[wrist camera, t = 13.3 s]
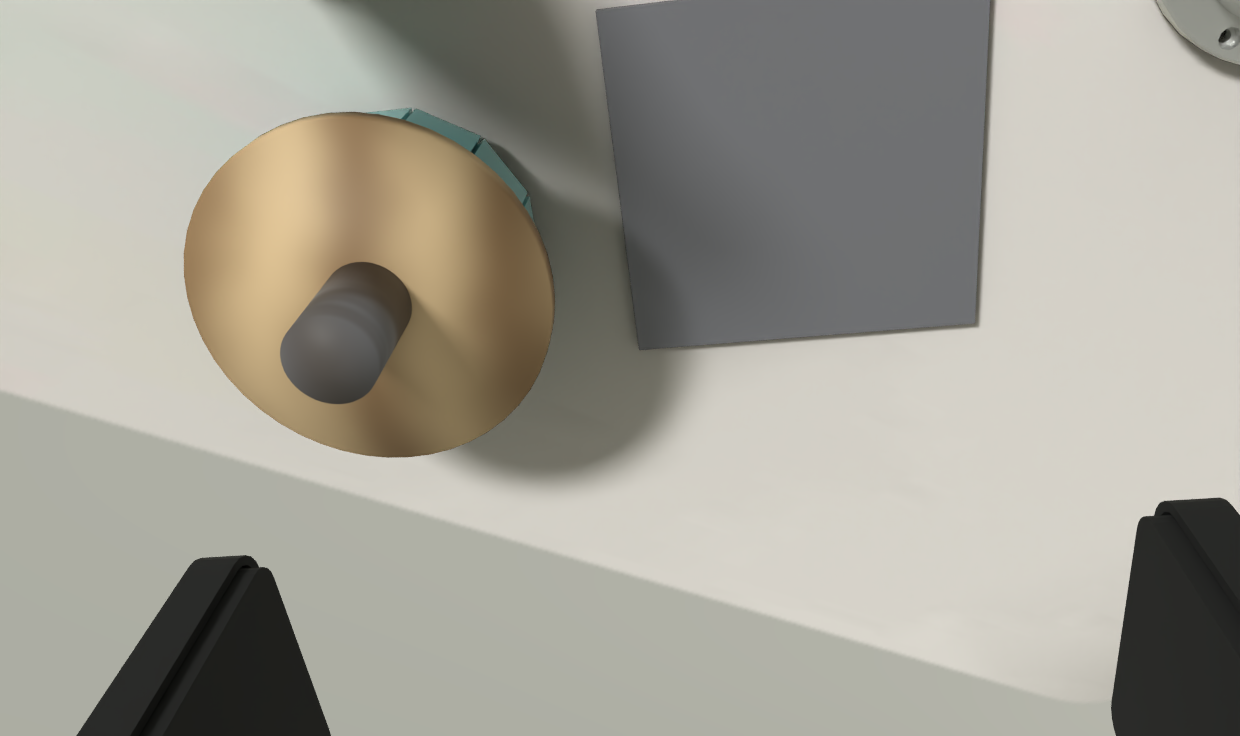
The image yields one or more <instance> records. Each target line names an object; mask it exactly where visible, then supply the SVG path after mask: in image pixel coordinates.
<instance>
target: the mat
mask: <svg viewBox="0 0 1240 736" xmlns="http://www.w3.org/2000/svg"><path fill="white" fill-rule="evenodd" d="M989 15H990V0H673V1H664V2H656V3H647V4H639V5H630V6H622V7H614V8H605V9H597V10H596V17H597V25H598V33H599V40H600V48H601V56H602V64H603V72H604V80H605V87H606V95H607V103H608V111H609V119H610V126H611V134H612V142H613V150H614V158H615V165H616V173H617V181H618V189H619V197H620V204H621V212H622V220H623V228H624V236H625V243H626V251H627V259H628V267H629V275H630V282H631V290H632V298H633V306H634V314H635V321H636V329H637V337H638V345H639V350H647V349H659V348H672V347H684V346H697V345H709V344H722V343H735V342H747V341H760V340H772V339H785V338H798V337H810V336H823V335H835V334H848V333H860V332H873V331H886V330H898V329H911V328H923V327H936V326H948V325H961V324H974V323H975V312H976V290H977V269H978V248H979V227H980V206H981V184H982V163H983V142H984V121H985V100H986V78H987V57H988V36H989Z"/></svg>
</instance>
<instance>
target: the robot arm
mask: <svg viewBox="0 0 1240 736" xmlns="http://www.w3.org/2000/svg"><path fill="white" fill-rule="evenodd" d="M1156 1H1157V3H1158V5H1159V7H1160V9H1161V11H1162V13H1163V14H1164V16H1165V17H1166V18H1167V19H1168V20H1169V22H1170V23H1171V24H1172V25H1173V26H1174V28H1175V29H1176V30H1177V31H1178V32H1179V34H1181V35H1182V36H1183V37H1185V38H1186V39H1188V40H1189V41H1190V42H1192V43H1193V44H1194V45H1196V46H1197V47H1198V48H1200V49H1201V50H1203V51H1205V52H1207V53H1209V54H1211V55H1213V56H1215V57H1217V58H1220V59H1222V60H1225V61H1228V62H1232V63H1235V64H1238V65H1240V0H1156ZM1224 30H1226V34H1225V37H1224V38H1223V39H1221V40H1219V37H1220V35H1221V33H1222V32H1223V31H1224ZM1111 706H1112V707H1111V711H1112V720H1113V726H1114V730H1115V733H1116V736H1240V515H1239V514H1238V512H1237V511H1236V510H1235V509H1234V507H1233V506H1232V505H1231V504H1230V503H1229V502H1228V501H1227V500H1225V499H1222V498H1208V499H1191V500H1174V501H1164V502H1161V503H1160V504H1159V505H1158V507H1157V508H1156V511H1155V515H1154V516H1145V517H1142V518H1141V519H1140V521H1139V523H1138V527H1137V532H1136V539H1135V546H1134V553H1133V559H1132V566H1131V573H1130V580H1129V587H1128V594H1127V600H1126V607H1125V614H1124V621H1123V628H1122V634H1121V641H1120V648H1119V655H1118V662H1117V669H1116V675H1115V682H1114V689H1113V696H1112V705H1111ZM77 736H331V735H330V731H329V728H328V725H327V723H326V720H325V717H324V714H323V712H322V709H321V706H320V703H319V700H318V698H317V695H316V692H315V690H314V687H313V684H312V681H311V678H310V676H309V673H308V671H307V668H306V665H305V662H304V659H303V656H302V654H301V651H300V648H299V645H298V643H297V640H296V637H295V634H294V632H293V629H292V626H291V624H290V620H289V618H288V615H287V613H286V609H285V607H284V604H283V601H282V598H281V596H280V593H279V590H278V588H277V585H276V582H275V579H274V577H273V575H272V573H271V571H270V570H269V569H268V568H265V567H260V568H259V566H258V564H257V562H256V561H255V560H254V559H253V558H252V557H251V556H246V555H243V556H226V557H209V558H200V559H197V560H195V561H194V562H193V563H192V564H191V565H190V566H189V568H188V569H187V571H186V572H185V574H184V575H183V577H182V578H181V580H180V581H179V583H178V584H177V586H176V587H175V589H174V590H173V592H172V593H171V595H170V596H169V598H168V599H167V601H166V602H165V604H164V605H163V607H162V608H161V610H160V611H159V613H158V614H157V616H156V617H155V619H154V620H153V622H152V623H151V625H150V626H149V628H148V629H147V631H146V632H145V634H144V635H143V637H142V638H141V640H140V641H139V643H138V644H137V646H136V647H135V649H134V650H133V652H132V653H131V655H130V656H129V658H128V659H127V661H126V662H125V664H124V665H123V667H122V668H121V670H120V671H119V673H118V674H117V676H116V677H115V679H114V680H113V682H112V683H111V685H110V686H109V688H108V689H107V691H106V692H105V694H104V695H103V697H102V698H101V700H100V701H99V703H98V704H97V706H96V707H95V709H94V710H93V712H92V713H91V715H90V716H89V718H88V719H87V721H86V723H85V724H84V725H83V727H82V728H81V730H80V731H79V733H78V734H77Z"/></svg>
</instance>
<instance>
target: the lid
mask: <svg viewBox="0 0 1240 736" xmlns="http://www.w3.org/2000/svg"><path fill="white" fill-rule="evenodd" d="M184 278H185V285H186V292H187V298H188V301H189V305H190V308H191V312H192V315H193V318H194V321H195V323H196V326H197V328H198V330H199V333H200V335H201V337H202V339H203V341H204V343H205V345H206V346H207V348H208V350H209V352H210V353H211V355H212V357H213V359H214V360H215V361H216V363H217V364H218V365H219V367H220V368H221V369H222V371H223V372H224V373H225V375H226V376H227V378H228V379H229V380H230V381H231V382H232V383H233V384H234V385H235V386H236V387H237V388H238V389H239V390H240V392H241V393H242V394H243V395H244V396H245V397H247V398H248V399H249V400H250V401H251V402H252V403H253V404H255V405H256V406H257V407H258V408H259V409H260V410H262V411H263V412H265V413H266V414H267V415H269V416H270V417H272V418H273V419H274V420H276V421H277V422H279V423H280V424H282V425H284V426H286V427H287V428H289V429H291V430H293V431H294V432H296V433H298V434H300V435H302V436H304V437H307V438H309V439H311V440H313V441H316V442H318V443H320V444H323V445H326V446H330V447H333V448H336V449H339V450H342V451H347V452H351V453H356V454H361V455H367V456H377V457H414V456H421V455H429V454H434V453H438V452H442V451H445V450H449V449H452V448H455V447H457V446H460V445H463V444H465V443H468V442H470V441H472V440H474V439H476V438H477V437H479V436H481V435H483V434H485V433H487V432H488V431H490V430H491V429H492V428H494V427H495V426H496V425H498V424H499V423H500V422H502V421H503V420H504V419H505V418H506V417H507V416H508V415H509V414H510V413H511V412H512V411H513V410H514V409H515V408H516V407H517V406H518V405H519V404H520V403H521V401H522V400H523V399H524V397H525V396H526V395H527V393H528V392H529V391H530V389H531V387H532V385H533V384H534V382H535V380H536V378H537V376H538V374H539V372H540V370H541V367H542V365H543V362H544V359H545V356H546V353H547V350H548V346H549V343H550V338H551V333H552V328H553V323H554V310H555V293H554V283H553V275H552V271H551V267H550V263H549V258H548V254H547V252H546V249H545V247H544V244H543V241H542V239H541V236H540V234H539V232H538V230H537V228H536V226H535V224H534V222H533V221H532V219H531V217H530V215H529V213H528V211H527V210H526V209H525V207H524V206H523V204H522V203H521V202H520V200H519V199H518V197H517V196H516V195H515V193H514V192H513V191H512V190H511V188H510V187H509V186H508V185H507V184H506V183H505V182H504V181H503V180H502V179H501V178H500V177H499V175H498V174H497V173H496V172H495V171H493V170H492V169H491V168H490V167H489V166H488V165H486V164H485V163H484V162H483V161H482V160H481V159H479V158H478V157H477V156H476V155H474V154H473V153H471V152H470V151H468V150H467V149H465V148H464V147H462V146H461V145H459V144H458V143H456V142H455V141H453V140H451V139H449V138H447V137H445V136H443V135H441V134H439V133H437V132H435V131H433V130H431V129H429V128H426V127H423V126H420V125H418V124H415V123H412V122H409V121H406V120H403V119H398V118H394V117H389V116H385V115H380V114H371V113H360V112H339V113H325V114H320V115H314V116H309V117H303V118H300V119H297V120H294V121H292V122H289V123H286V124H283V125H280V126H278V127H276V128H274V129H272V130H270V131H268V132H266V133H264V134H263V135H261V136H259V137H258V138H256V139H255V140H254V141H252V142H251V143H250V144H248V145H247V146H245V147H244V148H243V149H241V150H240V151H239V152H237V153H236V154H235V155H233V156H232V157H231V158H230V159H229V160H228V161H227V162H226V163H225V164H224V165H223V166H222V167H221V168H220V169H219V170H218V171H217V172H216V173H215V175H214V176H213V178H212V179H211V180H210V182H209V183H208V185H207V186H206V187H205V189H204V190H203V192H202V194H201V196H200V198H199V200H198V202H197V204H196V206H195V208H194V210H193V213H192V217H191V220H190V223H189V226H188V230H187V235H186V242H185V249H184Z"/></svg>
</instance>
